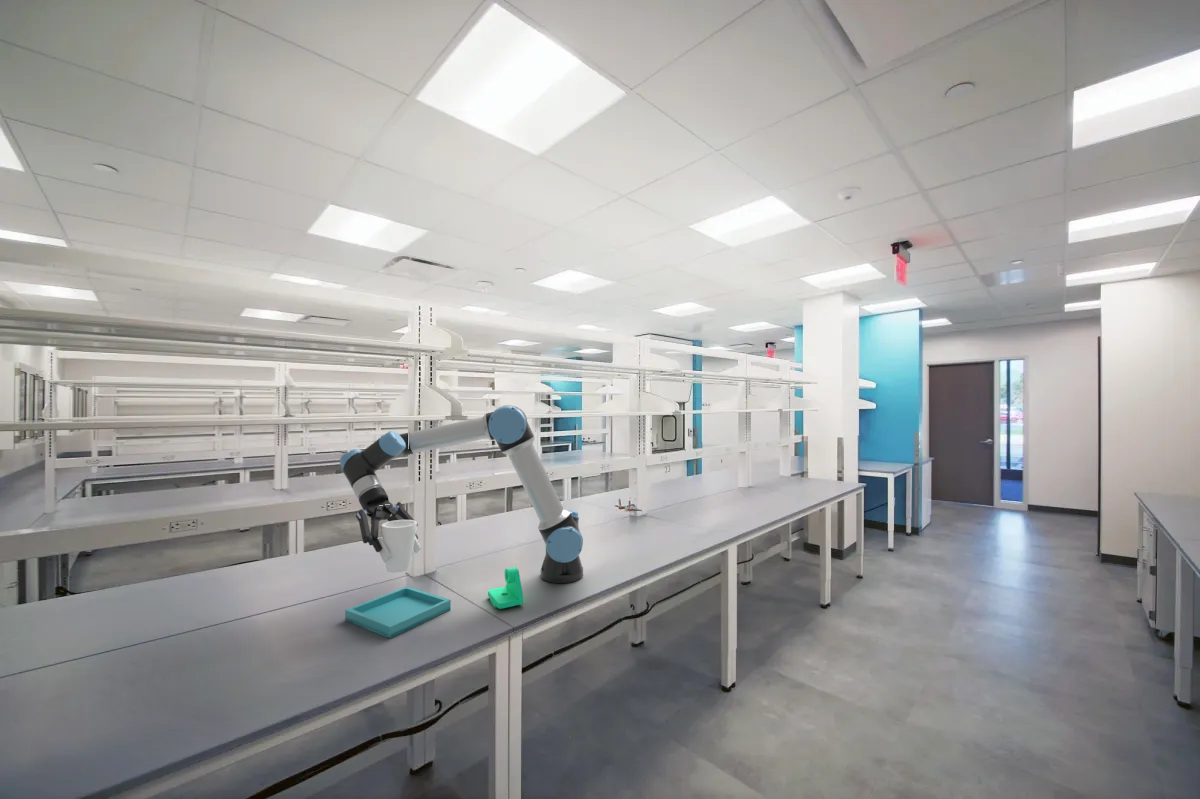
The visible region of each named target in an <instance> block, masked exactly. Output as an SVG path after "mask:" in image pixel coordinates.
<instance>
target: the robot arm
mask: <svg viewBox="0 0 1200 799" xmlns="http://www.w3.org/2000/svg"><path fill="white" fill-rule="evenodd" d="M410 432H411V433H410ZM410 432H406V433H400V434H399V433H398V432H396V431H394V430H389V431H387V432H386V433H385V434H382V435H380V437H379V438H378V439H376V440H375V441H374V442H373V443H371V444H370V445H369V446H367V447H366V448H365V449H363V450H362V449H359V448H357V449H356V448H355V449H351V450H350V451H346V452H345V453H344V454H342V455H341V457H340V459H339V465H340V466H341V470H342V473H343V474H344V475H345V477H346V479H347V481H348V483H349V485H350V487H351V489H352V491H353V492H354V494H355V496H356V498H357V500H358V503H359V504H360V506H361V508H362V509H359V510H358V512H357V513H356V515H355V518H356V519H357V521H358V523H359V530H360V533H361V538H362V542H363V544H367V543H368V545H369V546H373V548H374V551H375V552H376V553H379V555H380V558H381V559H382V560H383V563H384V564H386V562H388V560H389V559H390V558H391V555H390V553H389V551H388V549H387V547H386V545H385V543H384V542H383V538H382V537H379V527H380V526H379V524H380V522H381V521H384V520H387V522H389V521H394V520H414V521H416V520H415V519H414V518H413V516H411V515H410V513H408V511H406V509H405V508H404V506H403V504H402V502H400V501H397V503H393V504H392V502H390V501H389V496H388V494H387V492H386V490H385V489H384V487H383V485H382V483H381V482H380V479H379V478H378V476H377V474H376V471H378V470H379V469H381V468H383V466H385V465H386V464H387V463H389V462H390V461H392V460H394V459H397V458H398V459H399V458H400V457H401V458H402V457H405V456H410V454H411V455H414V454H413V453H415V454H418V453H425V452H429V451H432V450H437V449H444V448H447V447H452V446H456V445H457V446H458V445H463V444H466V443H470V442H476V441H481V440H485V439H488V440H489V441H494V440H495V442H496V443H497V446H498V447H499V449H500V452H501V453H502V454H503V455H507V456H508V457H509V460H510V461H511V463H512V466H513V468H514V470H515V473H516V474H517V477H518V478H519V480H520V482H521V485H522V487H523V489H524V491H525V493H526V496H527V498H528V499H529V501H530V504H531V506H532V508H533V510H534V512H535V514H536V516H537V519H538V520H539V524H538V525H537V526H538V527H537V529H538V531H539V532H540V535H541V537H542V538H541V539H542V540H543V541H544V544H545V556H544V558H543V562H542V564H541V569H540V578H541V579H542V580H543V581H546V582H548V583H553V584H566V583H567V584H568V583H573V582H577V581H579V580H581V579H582V578H583V577H584V567H583V565H582V562H581V561H582V560H581V558H580V554H581V552H582V550H583V545H584V539H583V536H582V534H581V531H580V527H579V519H580V517H579V513H578V511H576V510H569V509H568V510H567V509H565V508H564V507H563V505H562V502H561V501H560V498H559V497H558V494H557V491H556V490H555V488H554V485H553V484H552V481H551V480H550V477H549V475H548V474H547V472H546V469H545V467H544V465H543V462H542V461H541V459H540V456H539V454H538V452H537V451H536V448H535V445H534V441H535V435H534V432H533V431H532V429H531V427H530V424H529V423H528V419H527V416H526V413H525V412H524V411H523V410H522V409H521V408H519V407H518V406H514V405H511V404H510V405H508V404H507V405H502V406H500V407H498V408H496V409H494V411H492V412H486V413H484V415H483V416H481V417H477V418H472V419H468V420H467V419H466V420H462V421H457V422H453V423H448V424H444V425H439V426H435V427H430V428H425V429H419V430H415V432H414V431H410ZM413 432H414V433H413ZM408 433H409V449H408ZM385 504H390V505H385ZM379 505H383V506H379ZM368 517H369V518H370V525H369V520H368ZM417 527H419V524H418V523H417ZM418 539H419V537H418V534H417V533H416V534H415V541H414V547H413V552H414V554H418V552H419V551H421V549H422V545H421V543H420V542H419V540H418Z"/></svg>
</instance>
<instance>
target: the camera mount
mask: <svg viewBox="0 0 1200 799" xmlns="http://www.w3.org/2000/svg"><path fill="white" fill-rule="evenodd" d="M504 579H505V583H506V584H505V586H501V587H496V588H495V587H494V588H491V589H488V590H487V597H488V598H489V599H490V600H489V602H490V603H491V605H492V606H493V607H494V608H497V609H499V610H500V609H506V608H511V607H515V606H520V605H524V593H523V588H522V583H521V581H522V580H521V576H520V572H519V568H518V567H517V566H513V567H508V568H505V570H504Z"/></svg>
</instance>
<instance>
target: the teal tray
mask: <svg viewBox="0 0 1200 799" xmlns="http://www.w3.org/2000/svg"><path fill="white" fill-rule="evenodd" d="M451 601H452V600H451V599H449V598H446V597H443V596H439V595H437V594H433V593H430V592H427V591H423V590H420V589H417V588H414V587H410V586H408V585H406V586H404V587H402V588H398V589H397V590H393V591H391V592H389V593H386V594H383V595H381V596H378V597H375V598H372V599H370V600H367V601H365V602H362V603H360V604H359V603H358V604H357V605H354V606H352V607H349V608H346V609H345V615H344V616H345V618H344V619H345V620H344V621H345V622H348V623H350V624H352V625H356V626H358V627H360V628H363V629H366V630H368V631H370V632H373V633H375V634H377V635H379V636H382V637H384V638H388V639H392V638H395V637H397V636H399V635H401V634H403V633H405V632H407V631H410V630H411V629H413V628H415V627H418V626H420V625H422V624H424V623H426V622H428V621H430V620H433V619H435V618H436V617H438V616H441V615H444V614H445V613H447V612H449V611H451V610H452V609H451V606H452V605H451V603H452V602H451Z"/></svg>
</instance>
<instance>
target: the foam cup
mask: <svg viewBox="0 0 1200 799" xmlns="http://www.w3.org/2000/svg"><path fill="white" fill-rule="evenodd" d="M414 520H415V519H414ZM414 520H394V521H385V522H383V523H382V524H381V525H380V531H381V532H380V534H381V536H382V537H381V538H382V540H383V542H384V543H385V545H386V547H387V549H388V551H389V553H390V555H391V558H390V559H389V560H388V562H386V563H385V568H386V571H387V572H388V573H396V574H397V573H403V572H407V571H408V570H410V569H411V566H412V560H413V554H414V553H413V552H414V550H413V547H414V541H415V534H417V533H416V532H417V530H418V526H417V524H418V521H416V520H415V521H414Z"/></svg>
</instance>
